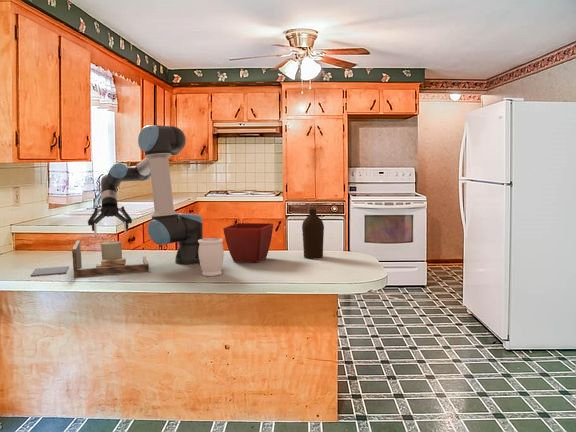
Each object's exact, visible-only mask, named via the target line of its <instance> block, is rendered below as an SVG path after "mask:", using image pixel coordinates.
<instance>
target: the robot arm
mask: <svg viewBox="0 0 576 432" xmlns="http://www.w3.org/2000/svg"><path fill="white" fill-rule="evenodd" d="M137 141H138V142H137V143H138V147H139V149H140V150H141V151H142V152H144V158H143V159H142V160H141V161H140V162H139V163H137V164H136V165H133V166H126V164H124V163H121V162H115V163H114V164H113V165H112V166H111V167H110V168H109V170H108V173H107V174H105V175H103V176H102V177H101V180H100V191H101V192H100V194H101V208H98V207H95V208H94V211H93V213H92V214H91V215H90V217H89V218H88V220H87V225H88V226H91V231H92V232H93V234H94V238H97V236H98V235H97V224H98V223H100V221H102V220H103V219H104V218H106V217H107V218H110V217H115V218H117V219H118V220H120V221H121V222H122V223H123V226H124V228H123V230H124V236H126V237H127V230H129V224H132V222H133V221H132V218H131V216H130V215H129V214H128V212H127V211H126V209H125V206H121V207H118V188H119V186H120V185H121V183H122V182H137V181H138V182H143V181H144V182H145V181H148V180H149V179H150V182H151V190H152V191H151V192H152V197H153V198H152V199H153V208H154V212H153V214H152V215H151V220H150V221H149V222H148V225H147V234H148V236H149V239H150V240H151V241H152V242H153V243H154V244H156V245H161V246H162V245H164V246H165V245H167V246H168V245H169V244H174V243H177V244H178V245H177V247H178V248H177V250H176V253H175V254H176V255H175V260H174V261H175V263H176V264H179V265H196V264H200V261H199V254H198V251H199V245H200V244H199V243H198V240H200V239H204V238H203V237H204V235H203V225H204V224H203V218H202V215H200V214H194V213H193V214H192V213H178V212H177V211H176V210H175V208H174V200H173V198H174V197H173V188H172V182H171V181H172V180H171V168H170V161H169V159H170V158H171V157H172V156H177V155H178V154H179V153H181V152H182V150H183V149H184V148H185V146H186V143H187V139H186V135H185V133H184V131H182V129H181V128H179V127H178V126H175V125H158V124H157V125H156V124H152V125H150V124H149V125H146V126H144V127H142V128H141V130H140V132H139V134H138V140H137ZM119 212H120V213H119ZM99 213H100V214H99ZM121 213H122V214H121Z"/></svg>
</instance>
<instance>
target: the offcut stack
mask: <svg viewBox="0 0 576 432" xmlns="http://www.w3.org/2000/svg"><path fill="white" fill-rule="evenodd" d="M126 262H127V261H126V258H125V257H124V258H122V259H107V260H102V259H101V261H100V263H99V264H98V263H97V264H95V268H98V267H111V266H124V265H126Z"/></svg>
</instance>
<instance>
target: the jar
mask: <svg viewBox="0 0 576 432" xmlns="http://www.w3.org/2000/svg"><path fill="white" fill-rule="evenodd" d="M223 242H224V239H223V238H219V237H218V238H217V237H206V238H203V239H200V240H198V243H199V244H200V245H199V251H198V254H199V261H200V263H199V264H200V268H201V275H202V276H205V277H216V276H220V275H221V274H223V273H222V267H223V264H224V257H225V255H224V253H225V252H224V245H223Z"/></svg>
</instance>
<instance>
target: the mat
mask: <svg viewBox="0 0 576 432" xmlns="http://www.w3.org/2000/svg"><path fill="white" fill-rule="evenodd" d="M68 270H69V266H67V265H66V266H56V267H55V266H54V267H53V266H52V267H43V268H42V267H40V268H35V269H34V270H33V271H32V273H31V274H30V277H41V276H53V275H55V276H56V275H65V274H67V272H68Z"/></svg>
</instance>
